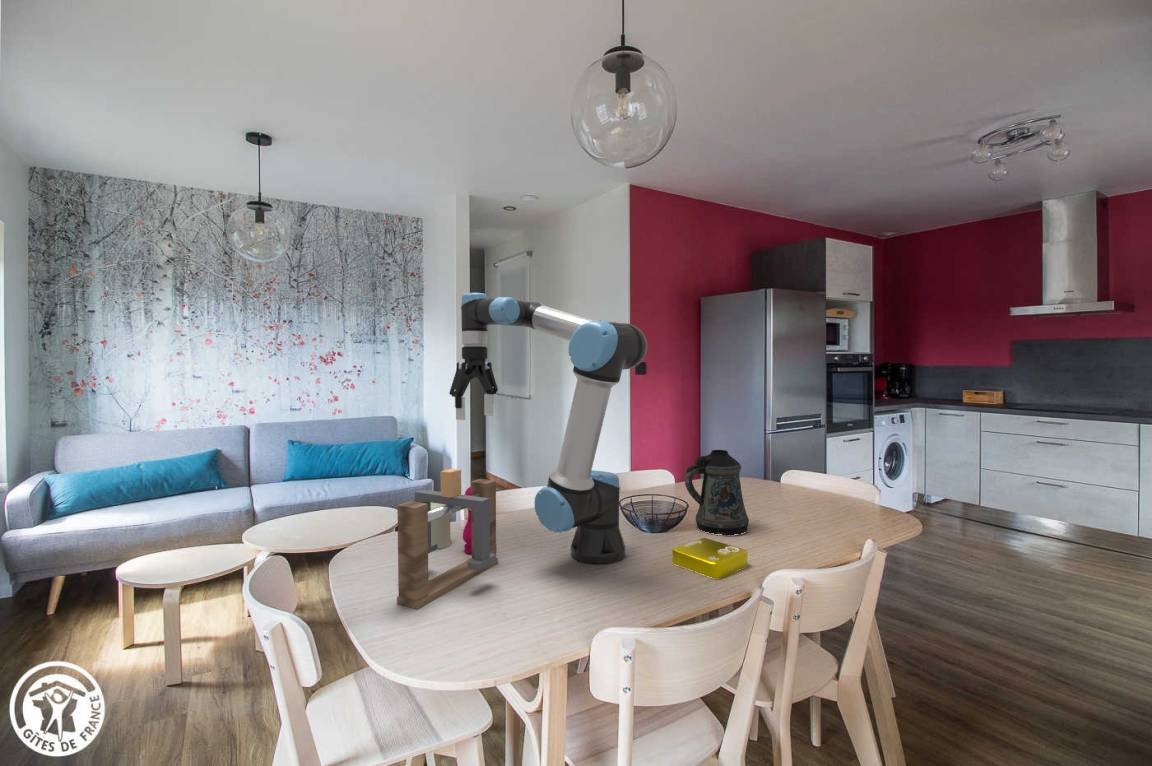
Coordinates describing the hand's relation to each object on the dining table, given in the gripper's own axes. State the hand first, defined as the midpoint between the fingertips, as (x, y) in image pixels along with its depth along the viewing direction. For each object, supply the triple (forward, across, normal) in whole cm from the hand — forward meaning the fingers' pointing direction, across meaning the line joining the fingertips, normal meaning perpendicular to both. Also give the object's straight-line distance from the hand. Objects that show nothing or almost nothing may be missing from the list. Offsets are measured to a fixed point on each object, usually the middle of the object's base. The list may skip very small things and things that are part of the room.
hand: (475, 417), depth 162 cm
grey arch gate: (+31, +28, +14) cm, 44 cm away
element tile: (+37, -12, +67) cm, 78 cm away
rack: (+37, +28, +14) cm, 48 cm away
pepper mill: (+37, +8, +6) cm, 38 cm away
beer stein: (+37, -43, +63) cm, 85 cm away
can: (+37, +9, -8) cm, 39 cm away
